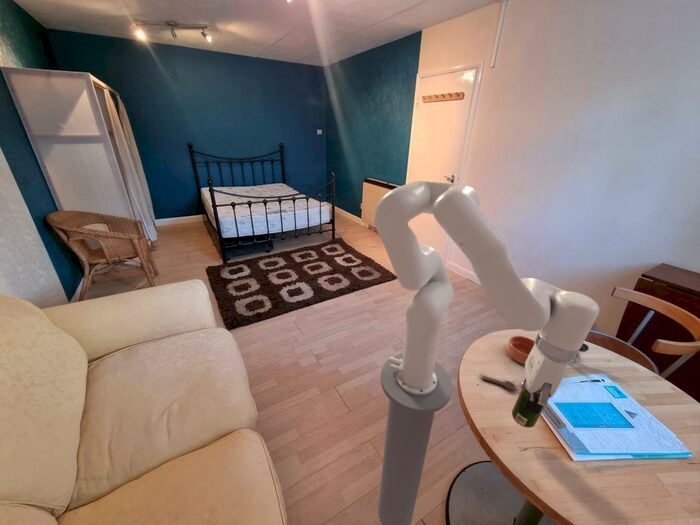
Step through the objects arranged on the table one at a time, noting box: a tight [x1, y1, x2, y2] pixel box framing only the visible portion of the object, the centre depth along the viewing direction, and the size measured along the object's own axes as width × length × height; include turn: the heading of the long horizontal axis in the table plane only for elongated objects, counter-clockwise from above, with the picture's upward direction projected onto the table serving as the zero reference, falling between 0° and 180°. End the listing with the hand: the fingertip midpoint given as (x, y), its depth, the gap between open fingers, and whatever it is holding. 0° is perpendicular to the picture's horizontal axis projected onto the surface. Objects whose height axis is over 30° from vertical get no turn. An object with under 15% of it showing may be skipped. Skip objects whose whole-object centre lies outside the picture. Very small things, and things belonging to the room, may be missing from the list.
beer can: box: [511, 382, 550, 429], centre depth 70 cm, size 5×5×12 cm
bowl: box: [506, 335, 535, 365], centre depth 97 cm, size 10×10×4 cm
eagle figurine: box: [576, 342, 590, 356], centre depth 97 cm, size 8×7×9 cm
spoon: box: [482, 375, 516, 392], centre depth 87 cm, size 9×3×1 cm, turn 64°
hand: (529, 400), depth 69 cm, fingers closed on beer can, 5 cm apart
